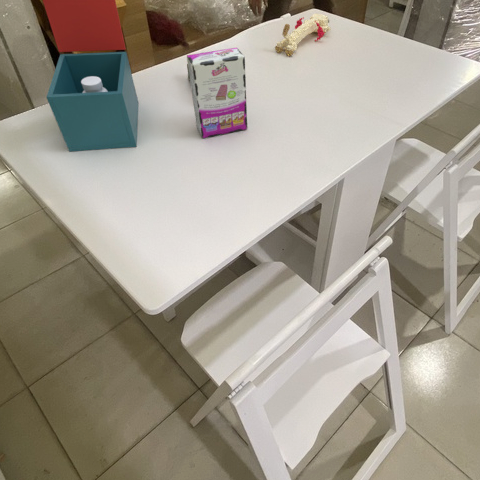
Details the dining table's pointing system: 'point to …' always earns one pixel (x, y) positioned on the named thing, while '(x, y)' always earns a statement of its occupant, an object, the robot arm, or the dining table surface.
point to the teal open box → (95, 101)
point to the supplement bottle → (92, 85)
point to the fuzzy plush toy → (302, 32)
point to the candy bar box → (218, 91)
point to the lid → (85, 25)
